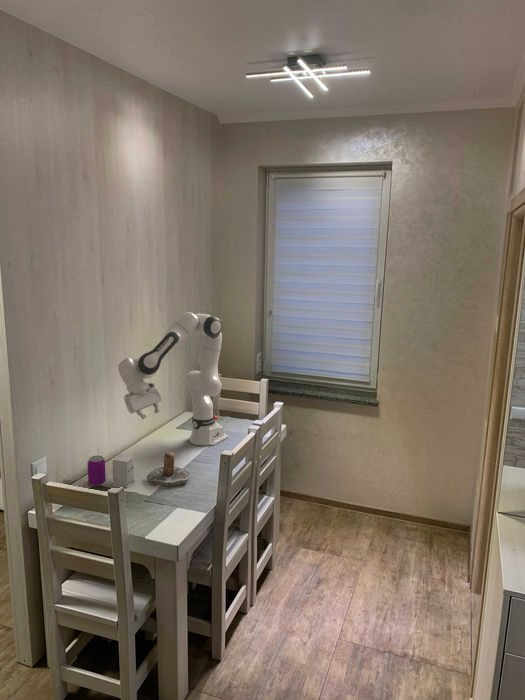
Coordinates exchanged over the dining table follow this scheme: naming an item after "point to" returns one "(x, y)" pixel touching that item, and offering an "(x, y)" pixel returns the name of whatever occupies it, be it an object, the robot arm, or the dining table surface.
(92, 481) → the beverage can
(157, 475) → the brain slice
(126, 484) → the supplement box
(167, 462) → the walnut pepper mill
